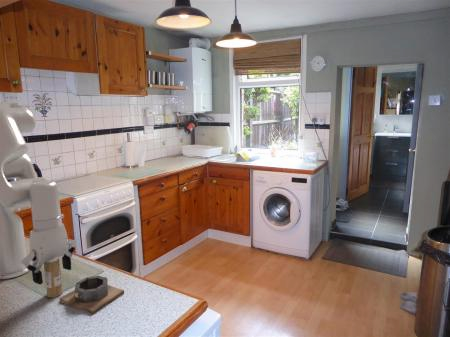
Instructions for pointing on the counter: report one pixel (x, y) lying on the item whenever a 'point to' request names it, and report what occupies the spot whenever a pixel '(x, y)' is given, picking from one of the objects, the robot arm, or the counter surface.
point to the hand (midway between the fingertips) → (53, 275)
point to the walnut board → (92, 306)
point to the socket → (91, 289)
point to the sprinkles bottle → (53, 277)
